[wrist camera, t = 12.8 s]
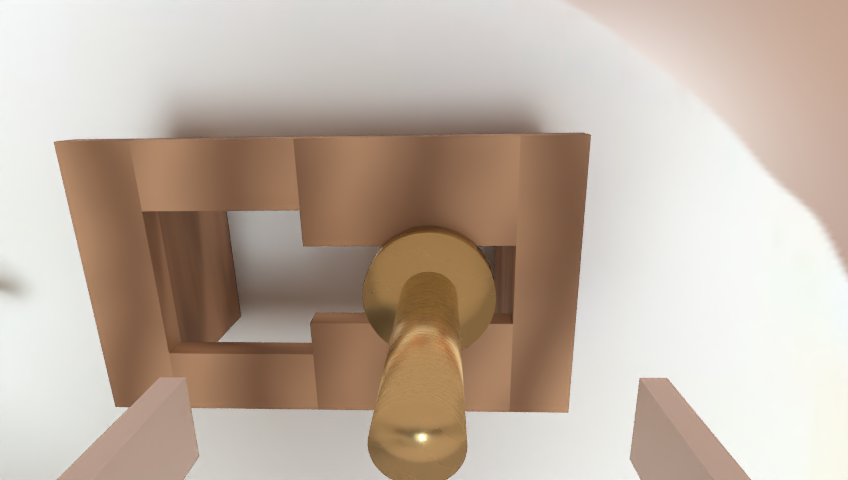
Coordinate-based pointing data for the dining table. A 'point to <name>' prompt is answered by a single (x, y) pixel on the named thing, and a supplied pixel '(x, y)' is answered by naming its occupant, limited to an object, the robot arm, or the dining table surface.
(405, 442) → the pin
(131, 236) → the keyhole shelf
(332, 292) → the dining table surface
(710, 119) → the dining table surface
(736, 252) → the dining table surface
